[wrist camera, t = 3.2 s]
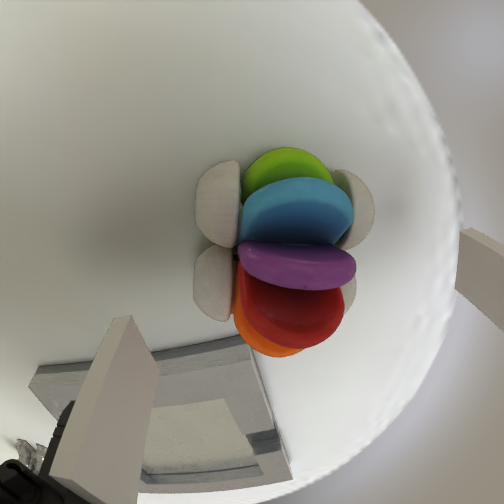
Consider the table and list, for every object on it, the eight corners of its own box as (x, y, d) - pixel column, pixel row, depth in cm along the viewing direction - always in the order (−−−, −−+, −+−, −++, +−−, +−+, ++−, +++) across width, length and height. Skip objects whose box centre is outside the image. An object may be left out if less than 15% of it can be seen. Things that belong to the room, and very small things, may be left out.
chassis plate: (38, 366, 19) (27, 386, 16) (247, 333, 19) (250, 359, 17) (142, 476, 27) (140, 492, 24) (289, 461, 27) (293, 479, 24)
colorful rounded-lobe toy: (195, 305, 18) (186, 397, 11) (203, 138, 14) (187, 143, 8) (327, 308, 19) (371, 389, 12) (358, 157, 15) (442, 182, 9)
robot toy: (83, 454, 24) (63, 557, 11) (103, 475, 27) (90, 567, 13) (1, 431, 23) (-28, 510, 10) (23, 455, 26) (1, 529, 12)
